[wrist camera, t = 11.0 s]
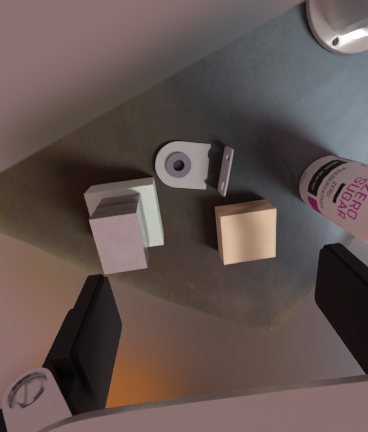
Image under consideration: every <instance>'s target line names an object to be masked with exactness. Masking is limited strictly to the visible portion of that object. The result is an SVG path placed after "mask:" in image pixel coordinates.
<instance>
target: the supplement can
mask: <svg viewBox="0 0 368 432" xmlns="http://www.w3.org/2000/svg"><path fill="white" fill-rule="evenodd" d="M299 192H300V196H301V198H302V200H303V201H304V202H305V204H307V205H308V206H310V207H311V208H313V209H314V210H316V211H317V212H319V213H321V214H322V215H324V216H325V217H327V218H328V219H330V220H331V221H333V222H334V223H336V224H337V225H339V226H340V227H342V228H343V229H345V230H346V231H348V232H349V233H351V234H352V235H354V236H355V237H357V238H359V239H360V240H362V241H363V242H365V243H366V244H368V165H367V164H364V163H360V162H357V161H353V160H349V159H346V158H342V157H337V156H326V157H321V158H320V159H318V160H316V161H314V162H313V163H312V164H311V165H310V166H309V167H308V168H307V169H306V170H305V171H304V173H303V175H302V177H301V179H300V185H299Z"/></svg>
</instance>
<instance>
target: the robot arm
mask: <svg viewBox="0 0 368 432" xmlns="http://www.w3.org/2000/svg"><path fill="white" fill-rule="evenodd" d="M306 15H307V19H308V23H309V27H310V29H311V31H312V34H313V36H314V37H315V38H316V40H317V41H318V43H319V44H321V45H322V46H323V47H324V48H325V49H327V50H329V51H331V52H333V53H336V54H341V55H351V54H355V53H360V52H362V51H365V50H368V0H306ZM332 42H333V44H332ZM315 301H316V304H317V305H318V307H319V308H320V310H321V311H322V312H323V314H324V315H325V317H326V318H327V319H328V321H329V322H330V324H331V325H332V327H333V328H334V330H335V331H336V332H337V334H338V335H339V337H340V338H341V339H342V341H343V342H344V344H345V345H346V347H347V348H348V349H349V351H350V352H351V354H352V355H353V356H354V358H355V359H356V361H357V362H358V364H359V365H360V366H361V368H362V369H363V371H364V372H365V373H366V375H360V376H351V377H343V378H335V379H326V380H317V381H309V382H301V383H293V384H285V385H277V386H269V387H261V388H253V389H245V390H237V391H229V392H222V393H213V394H206V395H198V396H191V397H183V398H176V399H168V400H160V401H154V402H146V403H139V404H132V405H126V406H119V407H113V408H106V409H105V406H106V401H107V396H108V392H109V387H110V383H111V377H112V373H113V368H114V363H115V359H116V354H117V349H118V344H119V339H120V335H121V329H122V323H121V319H120V315H119V312H118V309H117V306H116V302H115V299H114V296H113V292H112V289H111V286H110V283H109V279H108V277H104V276H103V274H97V275H90V276H88V277H87V280H86V282H85V284H84V286H83V288H82V291H81V293H80V295H79V297H78V299H77V301H76V303H75V306H74V308H73V309H70V310H69V312H68V313H67V315H66V317H65V319H64V321H63V324H62V326H61V328H60V330H59V332H58V334H57V336H56V338H55V341H54V343H53V345H52V347H51V349H50V351H49V353H48V355H47V357H46V359H45V362H44V364H43V366H42V368H35V369H32V370H29V371H27V372H26V373H24V374H22V375H21V376H20V377H18V378H17V379H16V380H15V381H14V382H13V383H12V384H11V385H10V386H9V388H8V389H7V391H6V392H5V394H4V396H3V399H2V408H1V409H0V432H368V267H367V266H366V265H365V264H364V263H363V262H361V261H360V260H359V259H358V258H357V257H356V256H355V255H353V254H352V253H351V252H350V251H349V250H348V249H346V248H345V247H344V246H343V245H342V244H340V243H335V244H328V245H324V247H323V249H321V250H320V254H319V262H318V271H317V279H316V288H315Z"/></svg>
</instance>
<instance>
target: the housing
mask: <svg viewBox="0 0 368 432" xmlns="http://www.w3.org/2000/svg"><path fill="white" fill-rule="evenodd" d="M89 222H90V225H91V229H92V232H93V236H94V239H95V243H96V246H97V249H98V253H99V256H100V260H101V263H102V267H103V270H104V274H110V273H117V272H124V271H130V270H137V269H143V268H147V267H148V254H149V241H150V240H149V234H148V229H147V224H146V219H145V214H144V209H143V204H142V199H141V194H140V193H138V194H131V195H124V196H117V197H110V198H102V200H101V201H100V203H99V205H98V206H97V208H96V209H95V211H94V212H93V214H92V216H91V217H90V219H89Z"/></svg>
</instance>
